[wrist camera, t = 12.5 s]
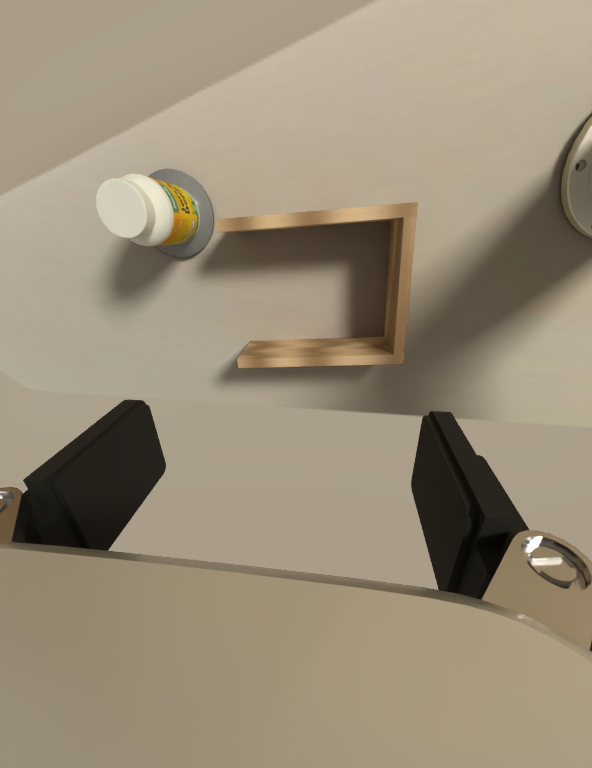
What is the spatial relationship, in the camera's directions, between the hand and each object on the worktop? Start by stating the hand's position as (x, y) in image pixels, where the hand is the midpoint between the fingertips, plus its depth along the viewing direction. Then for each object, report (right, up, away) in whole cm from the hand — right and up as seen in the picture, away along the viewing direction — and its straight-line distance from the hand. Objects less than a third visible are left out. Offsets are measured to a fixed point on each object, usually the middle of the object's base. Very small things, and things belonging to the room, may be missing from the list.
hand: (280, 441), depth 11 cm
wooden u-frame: (+2, +13, +24) cm, 27 cm away
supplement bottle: (-12, +19, +21) cm, 31 cm away
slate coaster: (-12, +20, +22) cm, 32 cm away
